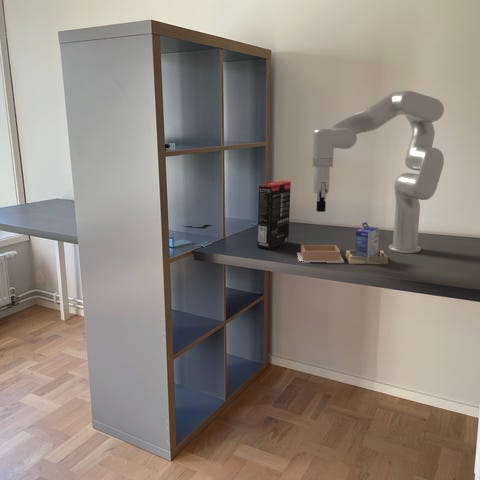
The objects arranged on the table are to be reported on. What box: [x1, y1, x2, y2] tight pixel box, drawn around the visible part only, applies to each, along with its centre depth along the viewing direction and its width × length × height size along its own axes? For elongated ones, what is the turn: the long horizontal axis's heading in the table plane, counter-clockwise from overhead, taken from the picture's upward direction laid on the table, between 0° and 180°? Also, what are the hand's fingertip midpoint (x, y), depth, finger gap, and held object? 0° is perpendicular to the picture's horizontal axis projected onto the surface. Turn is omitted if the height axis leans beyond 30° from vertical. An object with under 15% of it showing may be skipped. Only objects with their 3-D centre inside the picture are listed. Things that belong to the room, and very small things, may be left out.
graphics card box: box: [256, 180, 292, 250], centre depth 211 cm, size 17×7×27 cm, turn 147°
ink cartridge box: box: [355, 221, 380, 265], centre depth 188 cm, size 10×6×14 cm, turn 142°
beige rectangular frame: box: [345, 249, 389, 265], centre depth 190 cm, size 10×14×3 cm
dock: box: [296, 244, 345, 264], centre depth 192 cm, size 12×17×4 cm
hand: (320, 211), depth 188 cm, fingers closed
